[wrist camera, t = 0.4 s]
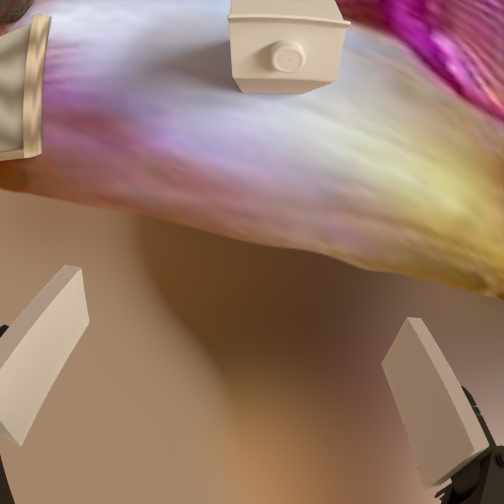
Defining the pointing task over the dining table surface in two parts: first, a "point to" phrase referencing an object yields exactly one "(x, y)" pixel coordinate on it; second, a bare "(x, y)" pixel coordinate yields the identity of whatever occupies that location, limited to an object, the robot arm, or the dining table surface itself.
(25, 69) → the tray
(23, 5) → the candle
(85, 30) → the dining table surface
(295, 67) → the milk carton
